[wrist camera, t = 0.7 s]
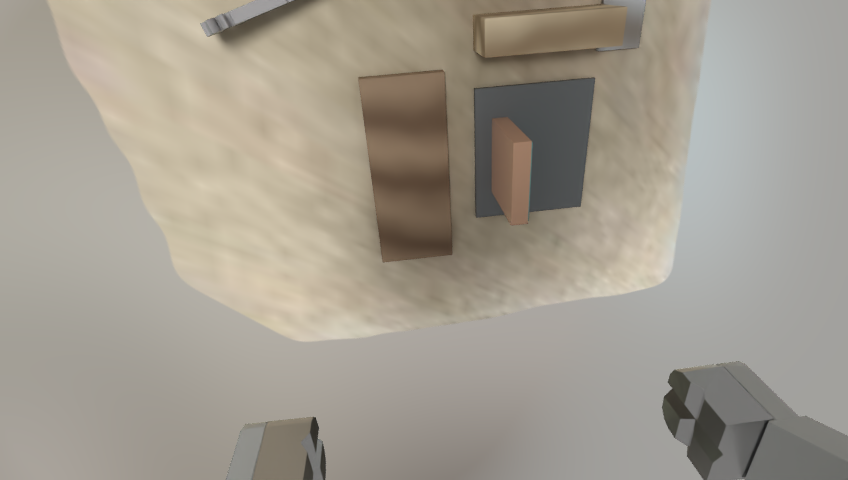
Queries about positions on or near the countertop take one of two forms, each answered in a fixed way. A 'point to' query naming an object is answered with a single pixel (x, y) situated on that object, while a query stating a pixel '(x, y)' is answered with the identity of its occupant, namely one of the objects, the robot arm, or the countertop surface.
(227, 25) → the caliper
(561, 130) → the mat
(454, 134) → the countertop surface
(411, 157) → the board
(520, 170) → the tile
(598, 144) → the countertop surface
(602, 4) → the scraper
